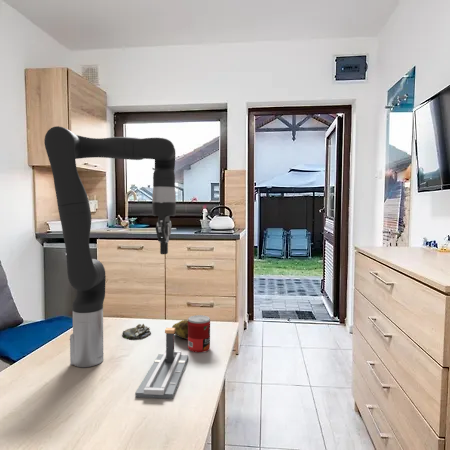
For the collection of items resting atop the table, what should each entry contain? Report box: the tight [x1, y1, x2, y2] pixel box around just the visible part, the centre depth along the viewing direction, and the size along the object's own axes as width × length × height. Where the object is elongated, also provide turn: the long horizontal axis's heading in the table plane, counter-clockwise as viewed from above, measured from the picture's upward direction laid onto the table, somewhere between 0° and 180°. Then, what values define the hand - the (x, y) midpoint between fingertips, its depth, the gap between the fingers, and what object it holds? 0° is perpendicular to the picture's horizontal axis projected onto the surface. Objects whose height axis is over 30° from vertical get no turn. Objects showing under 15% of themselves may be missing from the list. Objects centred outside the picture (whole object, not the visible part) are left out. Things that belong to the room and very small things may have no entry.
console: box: [134, 350, 189, 399], centre depth 105 cm, size 10×26×2 cm, turn 177°
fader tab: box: [164, 327, 175, 363], centre depth 112 cm, size 3×3×10 cm
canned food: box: [187, 314, 211, 354], centre depth 126 cm, size 8×8×11 cm
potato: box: [171, 319, 188, 339], centre depth 135 cm, size 8×13×8 cm, turn 14°
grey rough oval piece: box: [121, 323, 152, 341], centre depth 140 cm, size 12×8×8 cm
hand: (164, 254), depth 116 cm, fingers closed
